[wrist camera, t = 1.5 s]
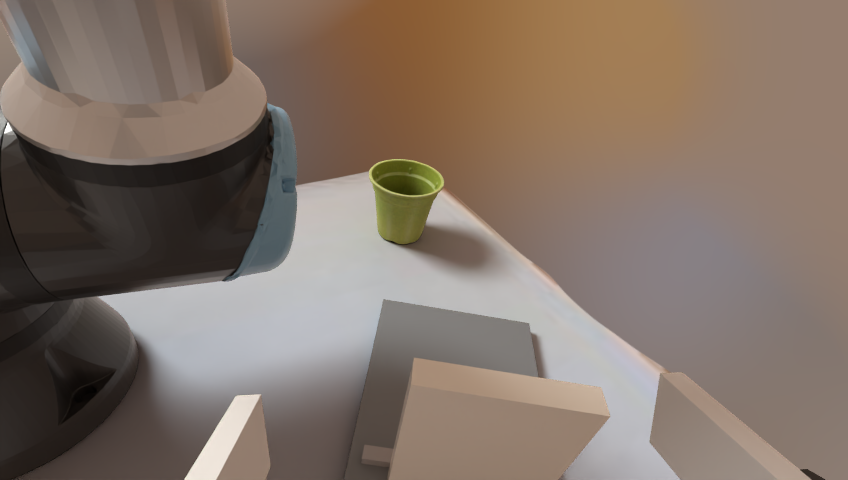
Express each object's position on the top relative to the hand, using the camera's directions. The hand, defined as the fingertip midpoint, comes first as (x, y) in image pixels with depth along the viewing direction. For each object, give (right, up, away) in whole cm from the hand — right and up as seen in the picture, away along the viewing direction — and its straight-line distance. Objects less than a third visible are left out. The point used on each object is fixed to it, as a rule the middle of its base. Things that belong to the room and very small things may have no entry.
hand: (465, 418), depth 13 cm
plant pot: (-5, +7, +42) cm, 43 cm away
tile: (+1, -13, +15) cm, 20 cm away
